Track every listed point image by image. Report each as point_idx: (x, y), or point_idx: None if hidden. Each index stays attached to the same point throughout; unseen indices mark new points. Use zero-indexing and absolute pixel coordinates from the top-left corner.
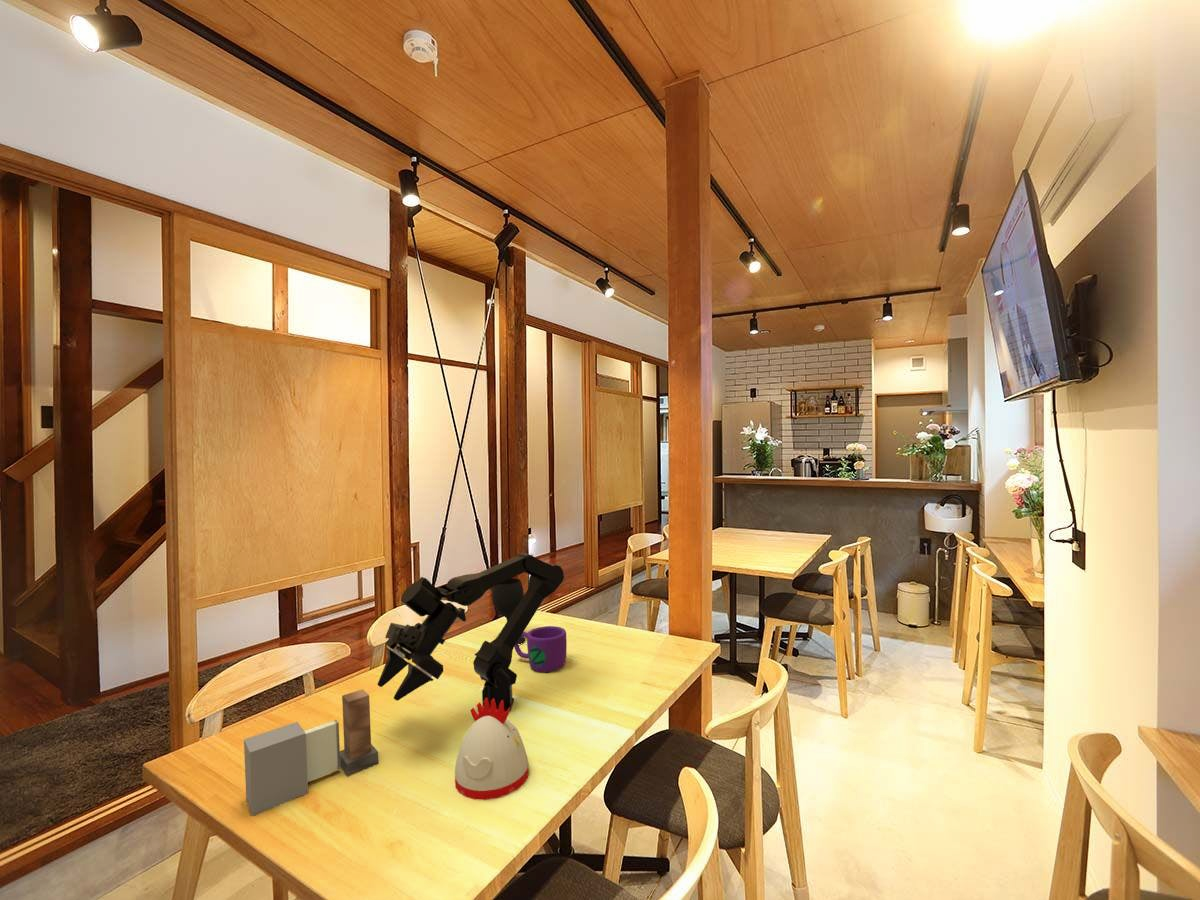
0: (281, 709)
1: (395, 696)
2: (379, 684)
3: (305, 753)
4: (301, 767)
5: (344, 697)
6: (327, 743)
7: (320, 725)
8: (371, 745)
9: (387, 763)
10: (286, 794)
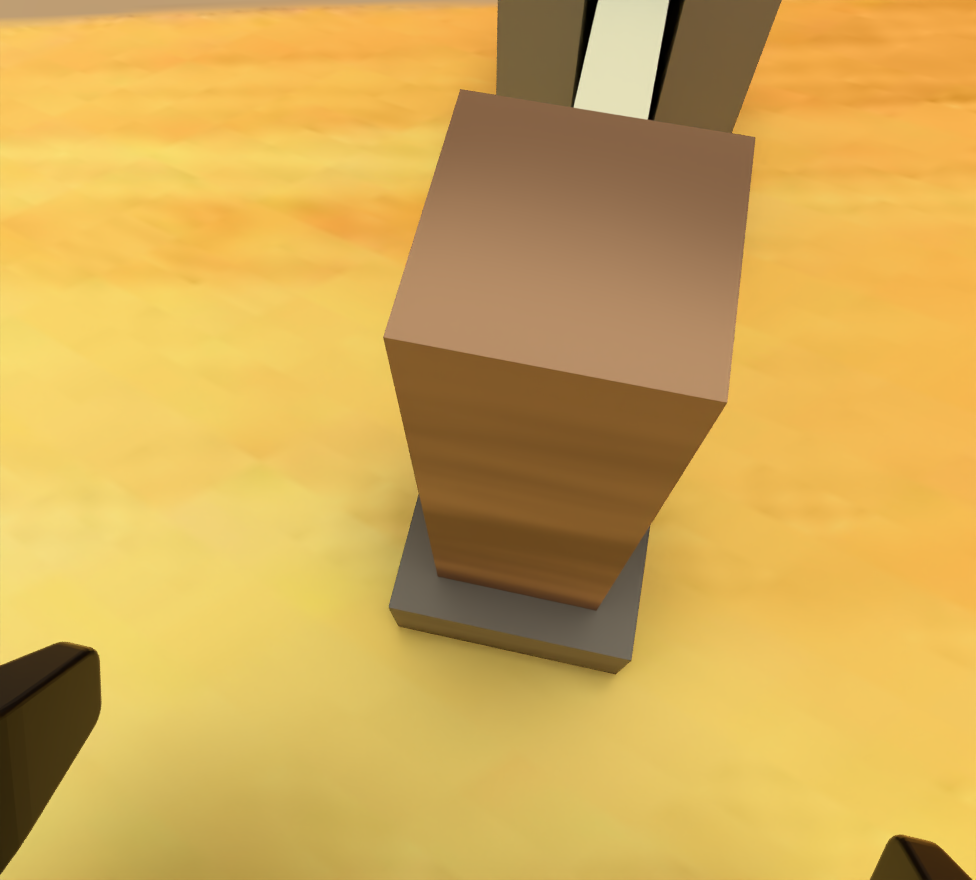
0: None
1: (30, 655)
2: (896, 868)
3: (498, 56)
4: None
5: (656, 125)
6: None
7: (646, 105)
8: (523, 628)
9: (342, 665)
10: None
